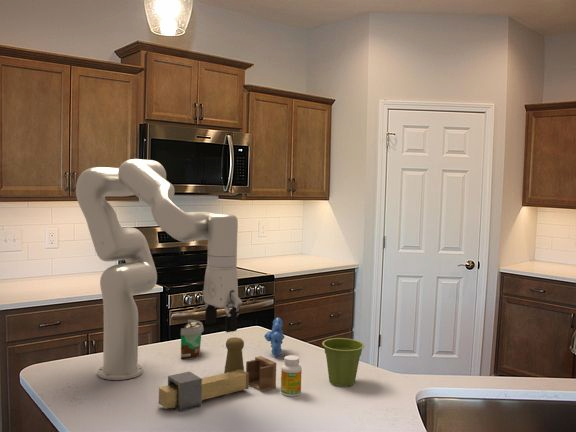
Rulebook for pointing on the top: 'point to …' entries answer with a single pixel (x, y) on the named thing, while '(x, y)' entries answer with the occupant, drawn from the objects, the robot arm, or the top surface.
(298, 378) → the supplement bottle
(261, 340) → the top surface
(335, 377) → the plant pot
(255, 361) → the walnut socket
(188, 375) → the steel sleeve
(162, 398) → the long gold plank
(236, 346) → the cork
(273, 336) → the grapes
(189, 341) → the food container
